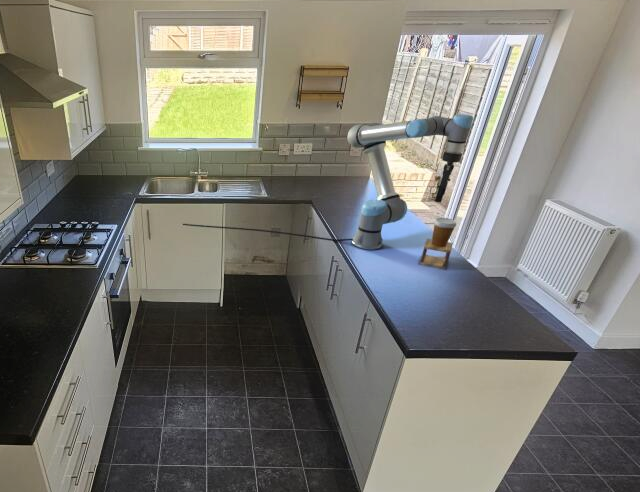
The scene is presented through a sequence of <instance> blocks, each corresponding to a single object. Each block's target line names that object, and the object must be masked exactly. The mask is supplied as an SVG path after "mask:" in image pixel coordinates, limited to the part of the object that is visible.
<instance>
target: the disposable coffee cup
mask: <svg viewBox="0 0 640 492" xmlns="http://www.w3.org/2000/svg"><path fill="white" fill-rule="evenodd" d="M456 227H457V221H456V220H455V219H452V218H447V217H437V218H435V220H434V221H433V231H432V238H431V239H432V244H433V245H434V246H438V247H445V246H446V245H447V242H449V240H450V239H451V236H452V234H453V231H454V229H455V228H456Z"/></svg>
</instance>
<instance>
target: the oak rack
mask: <svg viewBox="0 0 640 492" xmlns="http://www.w3.org/2000/svg"><path fill="white" fill-rule="evenodd" d="M453 244H454V242H450V241H448V242H447V245H446V246H445V247H438V246H434V245H433V244H432V238H426V241H425V244H424V246H423V251H422V253H421V257H420V260H419V265H422V266H427V267H432V268H437V269H442V270H446V268H447V264H448V262H449V259H450V255H451V253H452V249H453V246H454V245H453ZM428 250H430V251H435V252H442V253H445V256H444V257H441V256H435V255H430V254H427V253H428Z"/></svg>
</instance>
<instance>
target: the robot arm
mask: <svg viewBox="0 0 640 492" xmlns="http://www.w3.org/2000/svg"><path fill="white" fill-rule="evenodd" d="M473 121H474V117H473V116H472V115H470V114H463V113H462V114H455V115H454V116H453V118H450V117H446V116H445V117H444V116H441V115H432V116H431V115H430V117H428V118H417V119H413V120H404V121H398V122H391V123H385V124H384V123H381V122H369V123H360V124H359V123H358V124H356V125H354V126H352V127H351V128H350V129H349V130H348V133H347V143H348V144H349V145H350V146H351V147H353V148H362V152H363V154H365V155H366V156H367V159H368V163H369V167H370V171H371V176H372V179H373V181H374V186H375V190H376V194H377V199H370V200H367V201H365V202H364V203H363V204H362V208H361V210H360V215H359V216H360V217H359V221H358V227H357V230H356V232H355V234H354V236H353V238H328V237H321V236H316V235H315V236H314V235H307V234H302V233H294V232H286V231H279V230H270V229H259V228H248V227H247V228H246V227H235V226H219V225H207V224H206V225H205V224H195V223H194V224H192V223H184V222H183V223H182V226H188V227H199V228H212V229H213V228H214V229H227V230H241V231H242V230H243V231H252V232H253V231H254V232H264V233H265V232H266V233H273V234H282V235H283V234H284V235H291V236H296V237H297V236H298V237H304V238H311V239H316V240H324V241H329V242H330V241H332V242H345V241H346V242H347V241H351V244H352V246H354V247H355V248H358V249H362V250H367V251H369V250H370V251H375V250H379V249H381V248H382V246H383V237H382V229H383V225H387V224H391V223H397V222H399V221H401V220H402V219H404V218H405V216H406V214H407V212H408V204H407V202H406V201H405V200H404V199H402V198H401V197H400V193H398V192H396V191H395V190H396V189H395V186H394V181H393V177H392V174H391V171H390V167H389V166H390V165H389V163H388V162H389V161H388V159H387V155H386V151H385V148H386V147H387V142H389V141H395V140H396V141H397V140H405V139H413V138H414V139H419V138H424V137H432V136H442V137H447V140H446V143H445V147H444V152H443V154H442V157H441V160H442V161H443V162H446V163H445V164H444V165H443V168H442V169H443V170H442V176H441V180H440V183H439V185H437V187H436V188H437V192H436V196H435V199H434V202H435V203H442V201H443V197H444V196H445V193H446V191H447V188H448V183H449V182H450V181H451V178H450V176H451V175H452V173H453V170H454V168H455V164H454V163H460V162H461V160H462V158H463V157H462V156H463V153H464V150H465V148H467V145H466V143H467V140H468V137H469V135H470V131H471V128H472V125H473Z"/></svg>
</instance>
